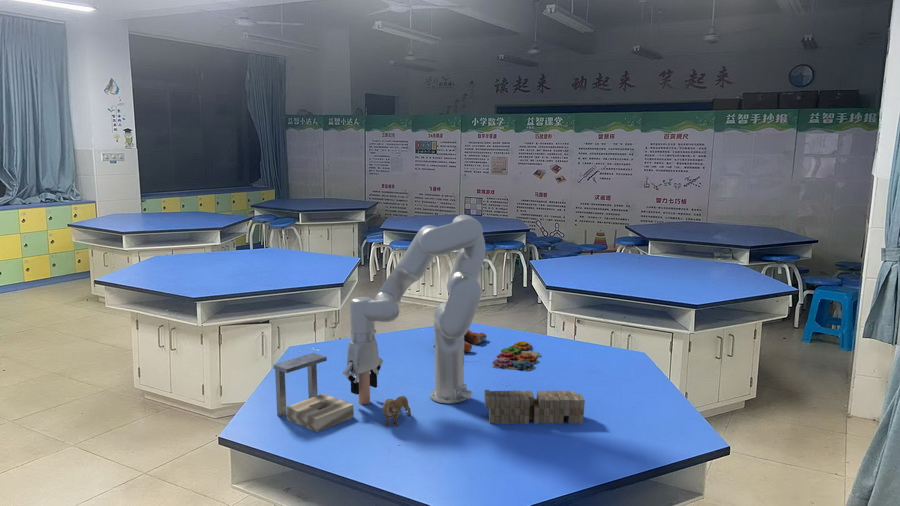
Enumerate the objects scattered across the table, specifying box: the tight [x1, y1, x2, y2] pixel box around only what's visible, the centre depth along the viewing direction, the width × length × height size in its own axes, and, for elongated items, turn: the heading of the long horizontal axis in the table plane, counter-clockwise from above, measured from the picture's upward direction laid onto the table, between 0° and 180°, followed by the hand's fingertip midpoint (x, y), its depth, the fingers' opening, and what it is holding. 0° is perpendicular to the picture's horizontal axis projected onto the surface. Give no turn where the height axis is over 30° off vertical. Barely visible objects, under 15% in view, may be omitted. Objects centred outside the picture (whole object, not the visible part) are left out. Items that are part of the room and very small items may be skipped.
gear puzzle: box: [491, 340, 542, 372], centre depth 253 cm, size 31×16×4 cm, turn 163°
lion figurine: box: [382, 395, 412, 427], centre depth 192 cm, size 15×5×9 cm, turn 163°
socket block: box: [286, 393, 355, 433], centre depth 195 cm, size 14×14×4 cm
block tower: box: [484, 389, 586, 425], centre depth 194 cm, size 8×8×29 cm
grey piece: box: [273, 352, 328, 418], centre depth 199 cm, size 6×15×16 cm, turn 140°
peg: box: [357, 371, 371, 405], centre depth 206 cm, size 4×4×11 cm
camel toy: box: [433, 329, 488, 353], centre depth 266 cm, size 25×13×17 cm
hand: (364, 389), depth 207 cm, fingers open, 7 cm apart
